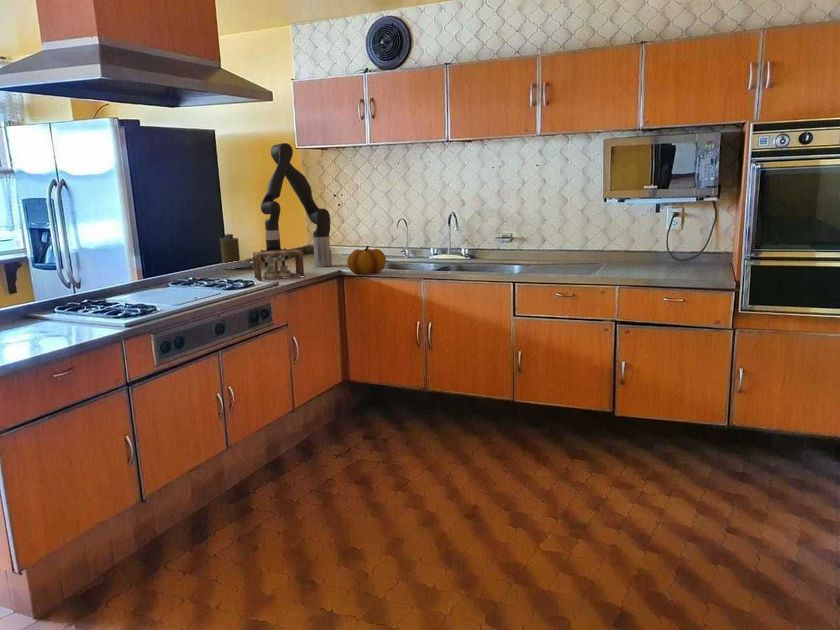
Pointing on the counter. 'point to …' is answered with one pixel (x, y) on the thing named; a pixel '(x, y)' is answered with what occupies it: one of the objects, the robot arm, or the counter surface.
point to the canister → (229, 249)
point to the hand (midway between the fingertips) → (275, 268)
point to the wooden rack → (295, 252)
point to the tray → (276, 271)
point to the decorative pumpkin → (366, 261)
